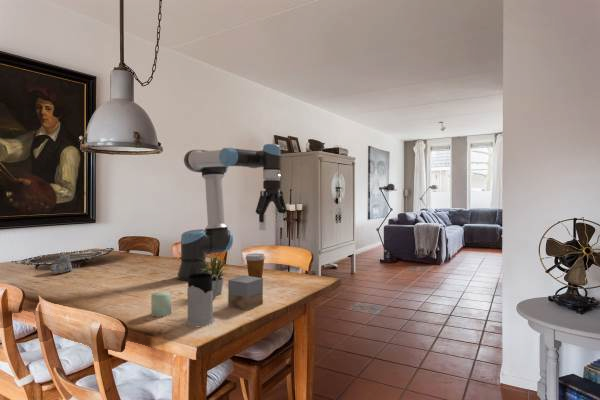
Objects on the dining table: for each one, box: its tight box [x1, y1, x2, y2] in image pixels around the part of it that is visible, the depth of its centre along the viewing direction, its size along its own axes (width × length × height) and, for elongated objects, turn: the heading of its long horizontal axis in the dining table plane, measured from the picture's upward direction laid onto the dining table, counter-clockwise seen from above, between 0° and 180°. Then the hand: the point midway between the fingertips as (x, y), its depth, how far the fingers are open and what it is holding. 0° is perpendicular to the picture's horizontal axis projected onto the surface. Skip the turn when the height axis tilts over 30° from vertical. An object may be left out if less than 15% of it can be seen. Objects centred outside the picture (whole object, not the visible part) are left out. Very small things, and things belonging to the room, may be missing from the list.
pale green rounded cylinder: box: [150, 290, 172, 318], centre depth 124 cm, size 6×6×7 cm
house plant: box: [199, 255, 229, 296], centre depth 149 cm, size 14×14×16 cm
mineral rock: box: [49, 253, 73, 274], centre depth 190 cm, size 13×11×10 cm
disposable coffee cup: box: [245, 252, 266, 278], centre depth 174 cm, size 10×10×12 cm
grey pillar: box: [186, 273, 218, 328], centre depth 118 cm, size 9×14×15 cm, turn 159°
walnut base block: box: [227, 291, 264, 311], centre depth 133 cm, size 9×9×5 cm
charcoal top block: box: [227, 275, 264, 297], centre depth 133 cm, size 9×9×5 cm
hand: (271, 228), depth 157 cm, fingers open, 13 cm apart
